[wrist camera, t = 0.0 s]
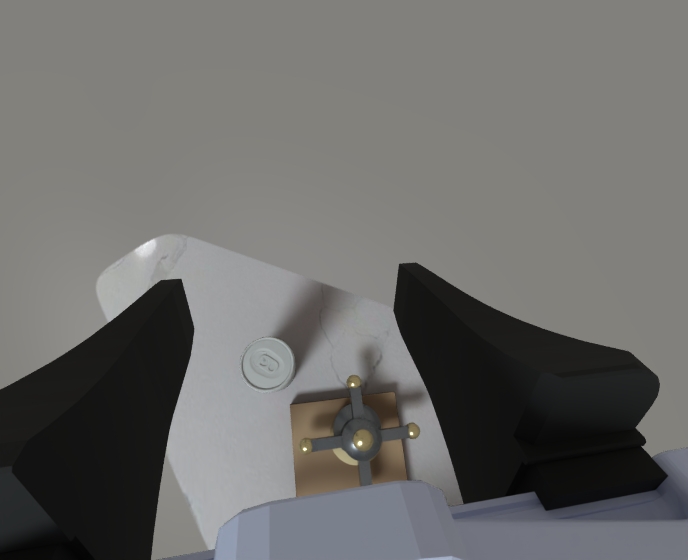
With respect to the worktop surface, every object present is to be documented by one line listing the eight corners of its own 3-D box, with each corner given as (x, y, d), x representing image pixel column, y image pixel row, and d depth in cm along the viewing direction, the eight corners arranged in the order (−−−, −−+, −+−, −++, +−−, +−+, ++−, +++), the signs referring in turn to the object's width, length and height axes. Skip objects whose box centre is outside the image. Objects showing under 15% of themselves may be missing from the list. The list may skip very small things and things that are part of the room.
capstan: (422, 491, 39) (435, 501, 35) (303, 511, 37) (304, 525, 33) (404, 369, 42) (414, 367, 39) (293, 381, 40) (293, 381, 37)
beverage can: (269, 341, 43) (259, 325, 32) (303, 363, 43) (306, 353, 32) (245, 377, 42) (226, 373, 30) (280, 399, 42) (275, 404, 30)
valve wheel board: (413, 546, 39) (425, 561, 35) (301, 568, 37) (302, 586, 34) (391, 391, 43) (399, 392, 40) (290, 404, 42) (289, 406, 38)
